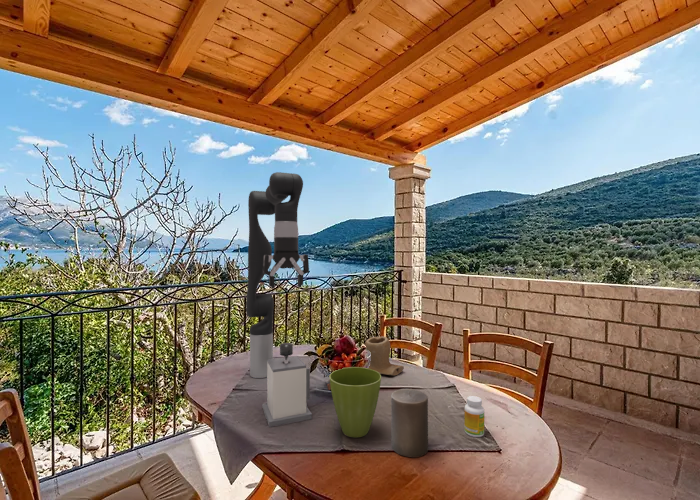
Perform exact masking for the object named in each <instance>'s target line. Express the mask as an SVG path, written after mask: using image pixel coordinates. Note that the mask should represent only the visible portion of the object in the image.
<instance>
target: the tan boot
mask: <svg viewBox="0 0 700 500" xmlns="http://www.w3.org/2000/svg"><path fill="white" fill-rule="evenodd" d="M364 344H365V345H364V346H366V347H367V349H368V350H369V351H370V352H371V361H370V360H369V364H370V366H369V368H368V369H372V370H375V371H377V372H378V373H380V375H385V376H386V375H387V376H398V375H400V374H401V373H402V372H403V371H404V365H400V364H399V365H398V364H394V363H391V362H390V356H391V355H390V354H391V342H390V340H389V338H388V337H386V336H383V335H382V336H372V337H370V338H368V339H366V341H365V342H364ZM366 347H365V348H366Z"/></svg>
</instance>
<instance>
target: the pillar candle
mask: <svg viewBox="0 0 700 500" xmlns="http://www.w3.org/2000/svg"><path fill="white" fill-rule="evenodd" d="M390 397H391V398H390V399H391V400H390V402H391V405H390V406H391V411H390V412H391V413H390V414H391V418H390V419H391V423H390V424H391V432H390V433H391V440H390V441H391V442H390V443H391V449H392V450H393V451H394V452H395V453H396V454H398V455H400V456H403V457H409V458H420V457H422V456H425V455H426V454H427V453H428V451H429V400H428V399H429V397H428V395H427V393H425V392H423V391H422V390H418V389H413V388H400V389H398V390H397V389H396V390H395V391H392V393H391V396H390Z"/></svg>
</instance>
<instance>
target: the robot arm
mask: <svg viewBox="0 0 700 500" xmlns="http://www.w3.org/2000/svg"><path fill="white" fill-rule="evenodd" d="M303 188H304V181H303V178H302V176H301V175H300V174H297V173H290V172H280V171H279V172H278V171H276V172H273V173H272V174H271V175H270V177H269V182H268V185H267V187H266V189H265V191H263V190H261V191H260V190H252V191H250V192H249V194H248V231H249V232H248V247H247V249H248V250H247V254H248V255H247V290H246V301H245V312H246V315H247V317H248V318H261V317H263V319H261V320H260V321H259V322H256V323H255V324H252V325H251V326H250V328H249V376H250V377H251V378H254V379H255V378H256V379H262V378H263V379H264V378H267V360H269V359H274V335H273V334H274V307H275V301H274V297H273V295H272V294H271V293H264V294H263V293H260V294H259V293H258V294H257V290H258V287H259V285H260V282H261V280H262V279H263V278H264V277H265V275H266V276H268V285H269V287H270V288H271V289H275V286H276V285H275V278H276V277H275V274H276V273H277V272H278V270H279V269H294V271H296V273H297V288H302V286H303V285H304V275H305V274H308V273H309V272H310V265H309V264H310V263H309V255H308V254H301V255H300V253H299V226H298V208H299V203H300V199H301V195H302V191H303ZM288 197H290V198H289V200H288V201H285V200H286V199H287V198H288ZM271 215H272V216H273V215H274V227H273V229H274V230H273V248H272V245H271V243H270V241H269V240H268V238H267V237H266V235H265V233H264V231H263V229H262V227H261V225H260V222H259V216H271ZM272 253H273V255H272ZM272 260H273V261H274V265H273V266H272V268H271V269H270V267H271V265H272ZM299 260H300V261H301V262H302V269H301V267H300V266H299V264H298V262H299ZM269 269H270V271H269Z"/></svg>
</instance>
